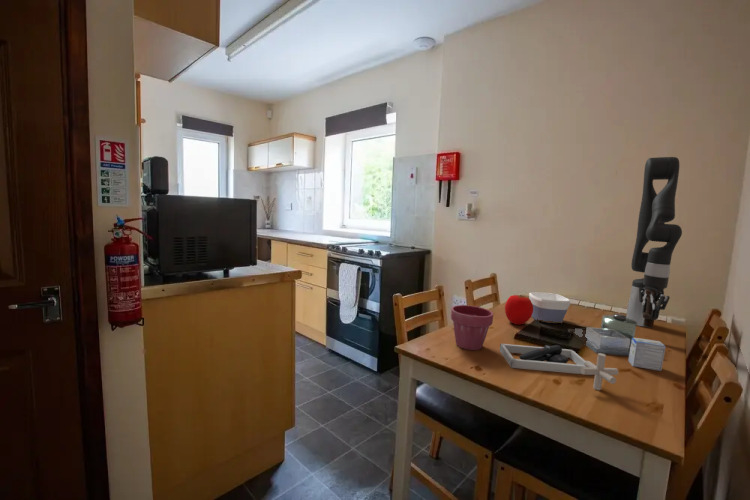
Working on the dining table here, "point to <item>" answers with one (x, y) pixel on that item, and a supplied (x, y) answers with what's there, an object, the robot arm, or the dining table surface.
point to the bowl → (549, 306)
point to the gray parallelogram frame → (541, 365)
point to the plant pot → (471, 325)
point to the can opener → (545, 354)
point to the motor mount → (610, 335)
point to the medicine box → (646, 354)
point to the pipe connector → (599, 371)
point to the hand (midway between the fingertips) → (649, 316)
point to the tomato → (518, 309)
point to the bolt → (649, 310)
